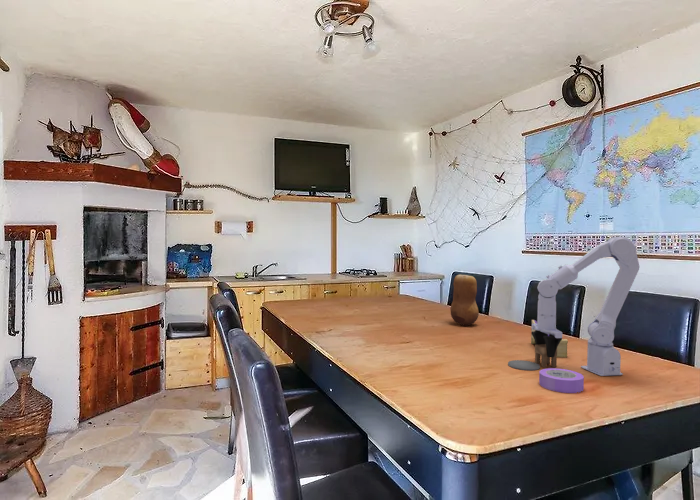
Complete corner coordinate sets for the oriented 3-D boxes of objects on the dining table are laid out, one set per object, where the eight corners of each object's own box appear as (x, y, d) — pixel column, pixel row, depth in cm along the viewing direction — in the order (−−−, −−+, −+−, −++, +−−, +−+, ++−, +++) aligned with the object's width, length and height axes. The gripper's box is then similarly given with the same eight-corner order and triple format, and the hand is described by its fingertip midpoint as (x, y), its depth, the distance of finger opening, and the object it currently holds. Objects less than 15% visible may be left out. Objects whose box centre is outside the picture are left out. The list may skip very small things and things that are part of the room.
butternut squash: (481, 324, 221) (482, 274, 220) (473, 328, 210) (474, 276, 209) (454, 321, 228) (455, 273, 228) (445, 325, 217) (446, 274, 216)
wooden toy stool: (556, 367, 148) (557, 347, 148) (543, 367, 147) (543, 348, 147) (547, 362, 153) (548, 344, 152) (534, 363, 152) (535, 344, 152)
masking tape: (532, 386, 129) (532, 373, 129) (548, 377, 137) (548, 365, 137) (575, 396, 121) (575, 383, 120) (589, 387, 129) (589, 374, 129)
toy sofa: (568, 358, 159) (568, 330, 159) (542, 357, 161) (543, 329, 161) (552, 344, 180) (553, 319, 180) (530, 343, 182) (530, 319, 181)
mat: (546, 369, 144) (546, 368, 144) (517, 371, 143) (517, 369, 143) (529, 361, 154) (529, 359, 154) (502, 362, 153) (502, 360, 153)
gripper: (524, 311, 156) (523, 349, 156) (548, 318, 142) (547, 361, 142) (542, 311, 157) (541, 349, 157) (568, 318, 143) (567, 360, 143)
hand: (545, 354), depth 150 cm, fingers closed on wooden toy stool, 5 cm apart
